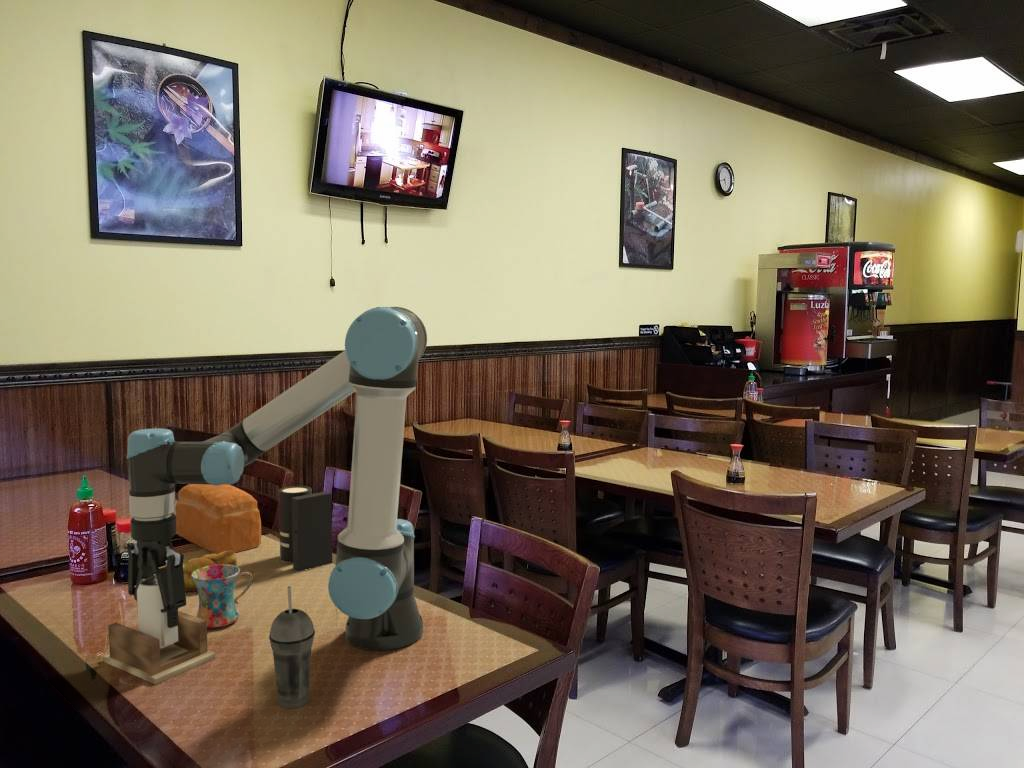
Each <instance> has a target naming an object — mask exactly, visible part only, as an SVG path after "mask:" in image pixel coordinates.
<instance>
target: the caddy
mask: <svg viewBox="0 0 1024 768" xmlns="http://www.w3.org/2000/svg"><path fill="white" fill-rule="evenodd" d="M107 629H108V630H107V631H108V647H109V648H108V650H109V652H108V653H107V654H103V655H102V662H104V663H106V664H107V665H110V666H112V667H115V668H116V669H117V668H118V669H119V670H122V671H124V672H127V673H129V674H131V675H133V676H135V677H138V678H139V679H142V680H144V681H146V682H149V683H151V684H153V685H158V684H161V683H163V682H165V681H166V680H169V679H171V678H174V677H176V676H179V675H180V674H183V673H185V672H187V671H189V670H192V669H194V668H196V667H199V666H202V665H203V664H205V663H208V662H210V661H212V660H214V659H216V652H213V651H211V650H209V649H208V627H207V621H206V620H203V619H200V618H197V617H196V616H195V615H191V614H188V613H185V612H183V611H180V610H178V641H177V642H175V643H174V644H173V645H172V646H170V647H167V648H164V649H160V642H159V639H157V638H155V637H152V636H150V635H147V634H145V633H142V632H140V631H138V629H137V630H136V629H135V628H132V627H129V626H127V625H124V624H121V623H119V622H113V623H110V624H108V626H107Z"/></svg>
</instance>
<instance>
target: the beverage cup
mask: <svg viewBox="0 0 1024 768" xmlns="http://www.w3.org/2000/svg"><path fill="white" fill-rule="evenodd" d="M291 587H292V586H290V585H288V586H287V599H288V600H287V602H288V609H285V610H283V611H281V612H280V613H279V614H278V615H277V616H276V617H275V618H274V619H273V621H272V623H271V626H270V630H269V635H268V639H269V643H270V647H271V651H272V656H273V665H274V673H275V682H276V690H277V692H276V693H277V696H278V701H279V702H278V703H279V706H280V707H282V708H284V709H297V708H300V707H302V706H304V705H306V704H307V702H308V700H309V697H308V696H309V690H310V677H311V676H310V674H311V661H312V648H313V644H314V638H315V635H316V631H315V628H314V622H313V621H312V618H311V617H310V616H309V614H308V613H307V612H305V611H303V610H302V609H299V608H293V604H292V603H293V602H292V588H291Z"/></svg>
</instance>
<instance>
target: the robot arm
mask: <svg viewBox="0 0 1024 768" xmlns="http://www.w3.org/2000/svg"><path fill="white" fill-rule="evenodd" d="M427 345H428V333H427V330H426V327H425V325H424V322H423V321H422V319H421V318H420V317H419V316H418V315H417V314H416V313H415V312H414V311H411V310H409V309H407V308H405V307H401V306H381V307H380V306H377V307H373V308H370V309H368V310H365V311H364V312H362V313H361V314H360V315H358V316H357V317H356V318H355V319H354V320H353V321H352V322H351V324H350V325H349V327H348V329H347V332H346V334H345V339H344V350H343V351H341V353H339V354H337V355H336V356H334V357H333V358H331V359H330V360H328V362H326V363H325V364H323V365H321V366H320V367H319V368H316V370H314V371H312V372H311V373H310V374H309V375H307V376H306V377H304V378H303V379H301V380H299V381H298V382H297V383H295V384H294V385H292V386H291V387H289V388H288V389H286V390H285V391H283V392H282V393H281V394H279V395H277V396H276V397H275V398H273V399H272V400H271V401H269V402H267V403H266V404H265V405H263V406H261V407H260V408H259V409H257V410H256V411H254V412H252V413H251V414H249V416H247V417H246V418H243V420H241V421H240V422H238V423H236V424H235V425H233V426H232V427H231V428H229V429H228V430H226V431H224V432H222V433H221V434H218V435H216V436H215V435H214V437H211V438H208V439H206V440H203V441H178V440H175V436H174V432H173V431H172V429H168V428H163V427H162V428H159V427H158V428H157V427H155V428H153V427H152V428H143V429H139V430H138V429H137V430H135V431H132V432H131V433H129V434H128V437H127V449H126V450H127V451H126V452H127V454H126V459H127V467H128V468H127V471H128V484H129V486H128V487H129V490H128V491H129V493H128V497H129V504H128V505H129V516H130V517H132V518H131V519H130V538H131V539H132V540H134V541H132V542H129V543H126V551H127V555H128V560H127V561H128V567H127V569H128V571H127V572H128V576H127V582H128V583H127V587H128V589H127V590H128V595H129V596H133V598H134V600H135V601H136V602H137V589H138V587H139V581H140V580H141V579H148V578H150V577H151V576H153V575H156V576H157V581H158V585H159V589H160V593H161V597H162V602H163V606H164V609H161V610H160V611H161V625H162V646H167V645H170V644H172V643H175V642H177V641H178V611H179V609H180V608H183V607H185V606H187V595H186V591H185V583H184V572H183V568H184V559H185V554H184V552H182V551H180V552H176V551H175V550H174V546H173V544H172V538H173V537H174V536H175V535H176V534H177V522H176V485H179V484H180V485H181V484H182V485H188V484H204V485H215V486H219V485H224V484H228V485H234V484H235V483H238V481H240V479H241V476H242V475H243V472H244V468H245V467H247V466H248V465H250V464H252V463H254V462H255V461H256V460H257V458H258V457H260V456H262V455H263V454H264V453H266V452H268V451H269V450H270V449H272V448H273V447H276V445H278V444H279V443H281V442H282V441H283V440H285V439H288V437H290V436H291V435H293V434H294V433H296V432H297V431H299V430H300V429H301V428H303V427H305V426H306V425H308V424H309V423H310V422H312V421H313V420H315V419H317V418H318V417H319V416H321V415H323V414H324V413H326V412H327V411H329V410H330V409H331V408H333V407H334V406H336V405H337V404H339V403H341V402H342V401H343V400H345V399H346V398H348V397H349V396H351V395H352V394H353V393H356V402H355V413H354V416H355V417H354V429H353V443H352V458H351V459H352V460H351V471H350V484H349V485H350V486H349V497H348V498H349V500H348V501H349V502H348V513H347V526H346V527H345V528H344V529H343V530H342V531H341V532H339V534H338V536H337V546H336V556H335V559H336V560H335V561H336V562H335V566H334V567H333V569H332V571H331V572H330V576H329V578H328V584H327V585H328V586H327V587H328V588H327V589H328V594H329V597H330V600H331V601H332V603H333V605H334V606H335V607H336V608H337V609H338V610H339V611H340V612H341V613H342V614H344V615H345V616H348V618H347V620H346V623H345V639H346V641H347V643H349V644H350V645H352V646H353V647H356V648H360V649H363V650H367V651H368V650H370V651H389V650H390V651H391V650H395V649H400V648H403V647H407V646H410V645H412V644H414V643H416V642H418V641H419V640H421V638H422V637H423V633H424V620H423V617H422V615H421V614H420V610H419V608H418V603H417V601H416V598H415V564H414V563H415V557H414V555H415V554H414V553H415V550H414V549H415V548H414V547H415V544H414V540H415V538H416V537H415V531H414V526H413V524H412V523H411V521H410V520H409V521H408V520H406V519H403V518H402V519H401V518H398V512H399V499H400V498H399V497H400V486H401V474H402V473H401V472H402V461H403V460H402V459H403V451H404V450H403V447H404V435H405V423H406V422H405V421H406V408H407V397H408V396H409V395H410V394H411V393H412V392H414V391H415V390H416V389H417V383H418V382H417V380H418V369H419V361H420V359H421V358H422V357H423V355H424V354H425V351H426V348H427ZM169 602H170V603H169ZM136 611H137V615H138V610H137V609H136Z"/></svg>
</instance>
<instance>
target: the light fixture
mask: <svg viewBox="0 0 1024 768" xmlns="http://www.w3.org/2000/svg"><path fill="white" fill-rule="evenodd" d="M278 515H279V516H278V517H279V518H278V520H279V521H278V523H279V554H280V555H279V556H280V557H279V559H280V561H281V562H284V563H291V564H292V569H293V570H295V571H296V572H302V570H303V571H306V570H305V569H307V570H310V568H311V569H314V567H315V568H318V566H319V567H323V566H326V565H331V564H333V527H332V526H333V521H332V520H333V519H332V515H333V514H332V492H331V493H330V492H328V491H320V492H313V491H312V487H310V486H307V485H291V486H285V487H282V488H279V489H278ZM322 565H323V566H322Z"/></svg>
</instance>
